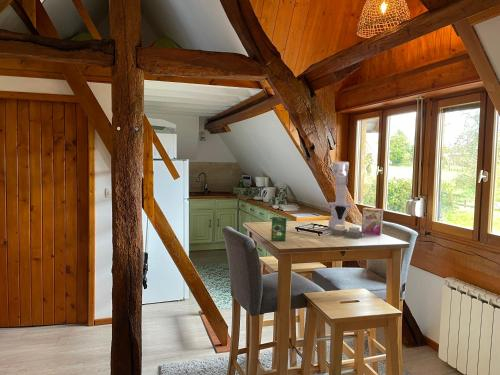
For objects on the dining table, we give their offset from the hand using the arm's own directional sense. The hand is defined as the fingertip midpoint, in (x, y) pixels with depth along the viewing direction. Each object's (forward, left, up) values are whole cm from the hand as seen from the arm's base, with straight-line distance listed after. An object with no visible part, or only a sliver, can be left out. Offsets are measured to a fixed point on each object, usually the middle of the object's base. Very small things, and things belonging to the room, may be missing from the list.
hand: (340, 219), depth 228 cm
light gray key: (+9, 0, -7) cm, 11 cm away
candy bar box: (+13, +16, -11) cm, 23 cm away
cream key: (0, 0, -7) cm, 7 cm away
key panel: (+4, 0, -10) cm, 11 cm away
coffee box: (-21, -32, -11) cm, 40 cm away
